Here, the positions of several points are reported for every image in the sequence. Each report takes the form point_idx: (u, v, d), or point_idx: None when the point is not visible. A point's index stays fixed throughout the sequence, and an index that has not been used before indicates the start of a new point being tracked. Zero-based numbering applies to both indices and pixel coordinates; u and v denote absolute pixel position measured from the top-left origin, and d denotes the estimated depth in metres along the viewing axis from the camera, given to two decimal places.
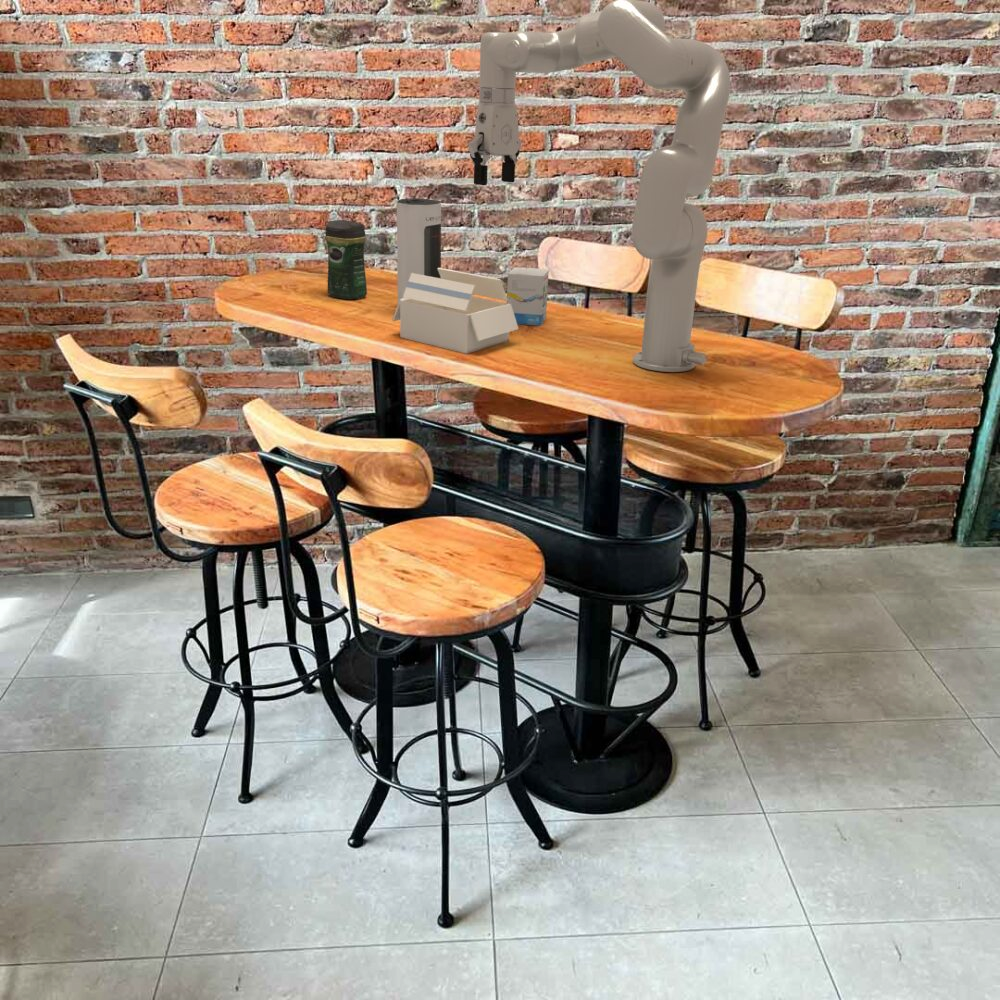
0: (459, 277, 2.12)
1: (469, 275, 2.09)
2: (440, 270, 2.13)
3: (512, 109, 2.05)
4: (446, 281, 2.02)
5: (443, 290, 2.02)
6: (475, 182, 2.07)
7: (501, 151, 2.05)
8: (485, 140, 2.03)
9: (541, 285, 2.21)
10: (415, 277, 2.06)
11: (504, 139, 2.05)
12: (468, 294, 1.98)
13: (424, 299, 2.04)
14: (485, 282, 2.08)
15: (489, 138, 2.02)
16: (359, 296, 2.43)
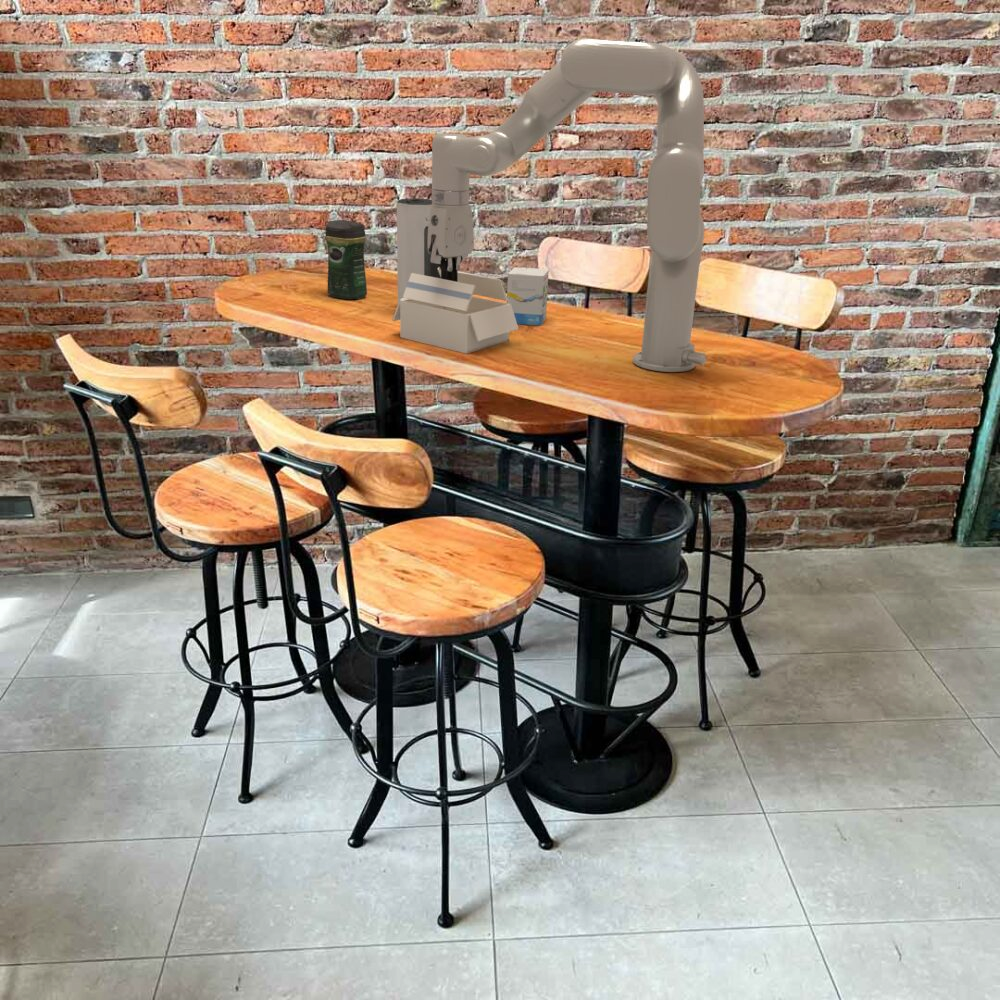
0: (459, 277, 2.12)
1: (469, 275, 2.09)
2: (440, 270, 2.13)
3: (466, 209, 1.99)
4: (446, 281, 2.02)
5: (443, 290, 2.02)
6: None
7: (455, 253, 1.99)
8: (438, 243, 1.97)
9: (541, 285, 2.21)
10: (415, 277, 2.06)
11: (458, 240, 1.99)
12: (468, 294, 1.98)
13: (424, 299, 2.04)
14: (485, 282, 2.08)
15: (441, 241, 1.96)
16: (359, 296, 2.43)
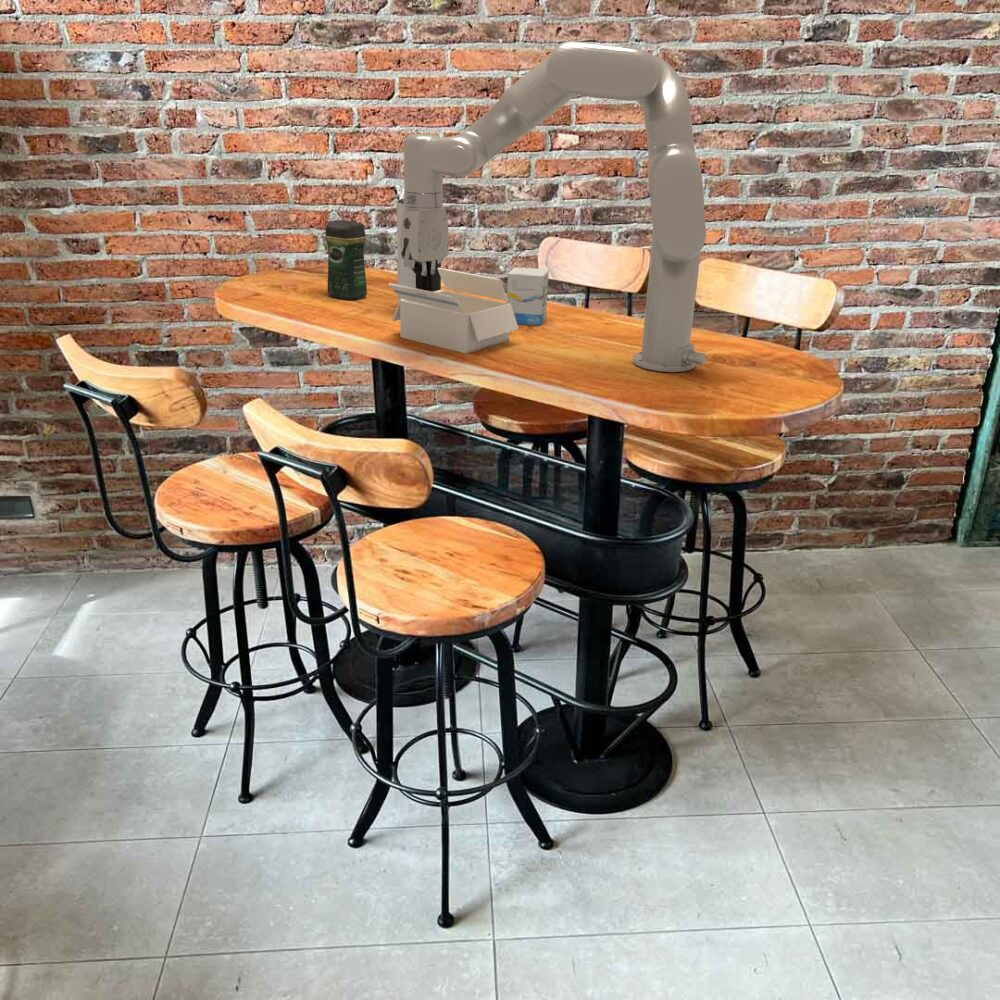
0: (459, 277, 2.12)
1: (469, 275, 2.09)
2: (440, 270, 2.13)
3: (440, 212, 1.93)
4: (425, 292, 1.98)
5: (430, 298, 1.99)
6: None
7: (428, 257, 1.94)
8: (411, 247, 1.91)
9: (541, 285, 2.21)
10: (395, 287, 2.02)
11: (432, 244, 1.94)
12: (454, 303, 1.95)
13: (421, 302, 2.03)
14: (485, 282, 2.08)
15: (414, 245, 1.91)
16: (359, 296, 2.43)
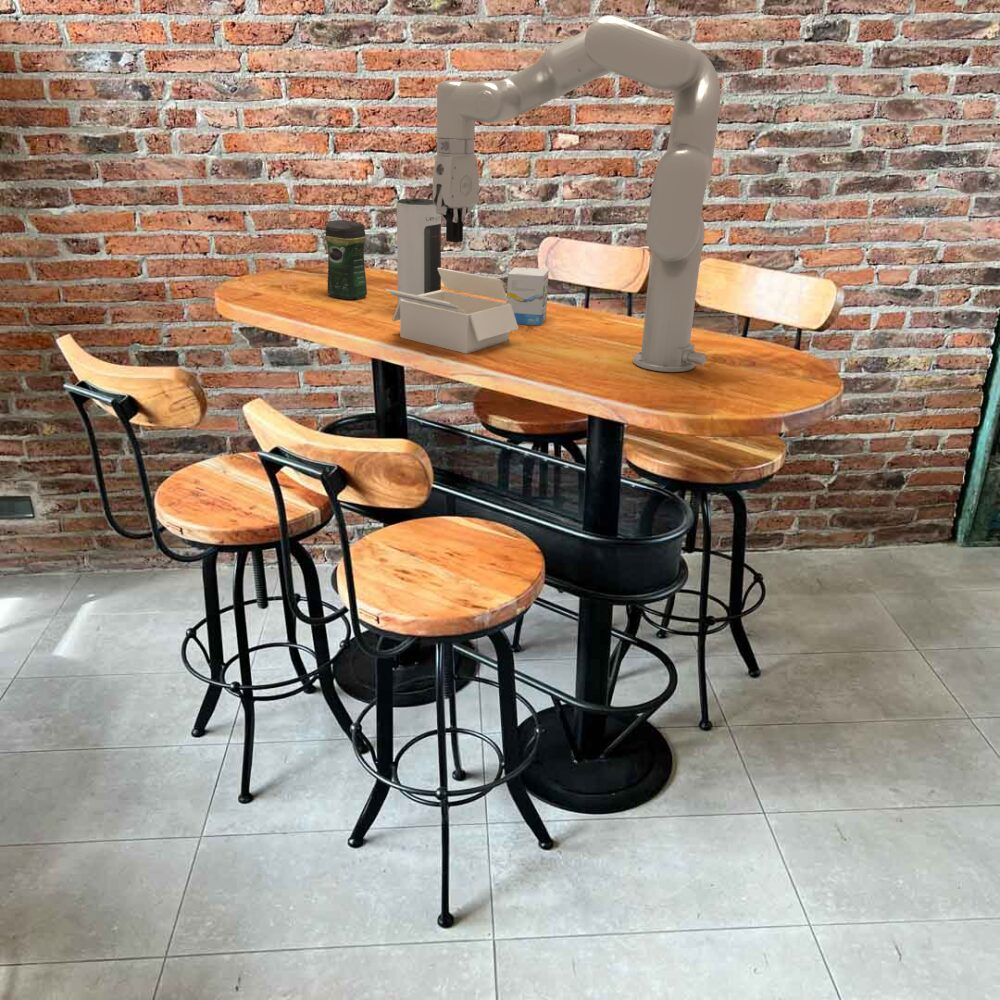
0: (459, 277, 2.12)
1: (469, 275, 2.09)
2: (440, 270, 2.13)
3: (472, 159, 1.96)
4: (422, 298, 1.97)
5: (428, 301, 1.99)
6: (447, 239, 2.02)
7: (460, 203, 1.96)
8: (443, 193, 1.94)
9: (541, 285, 2.21)
10: (393, 292, 2.02)
11: (463, 191, 1.96)
12: (452, 307, 1.95)
13: (421, 302, 2.04)
14: (485, 282, 2.08)
15: (447, 190, 1.93)
16: (359, 296, 2.43)
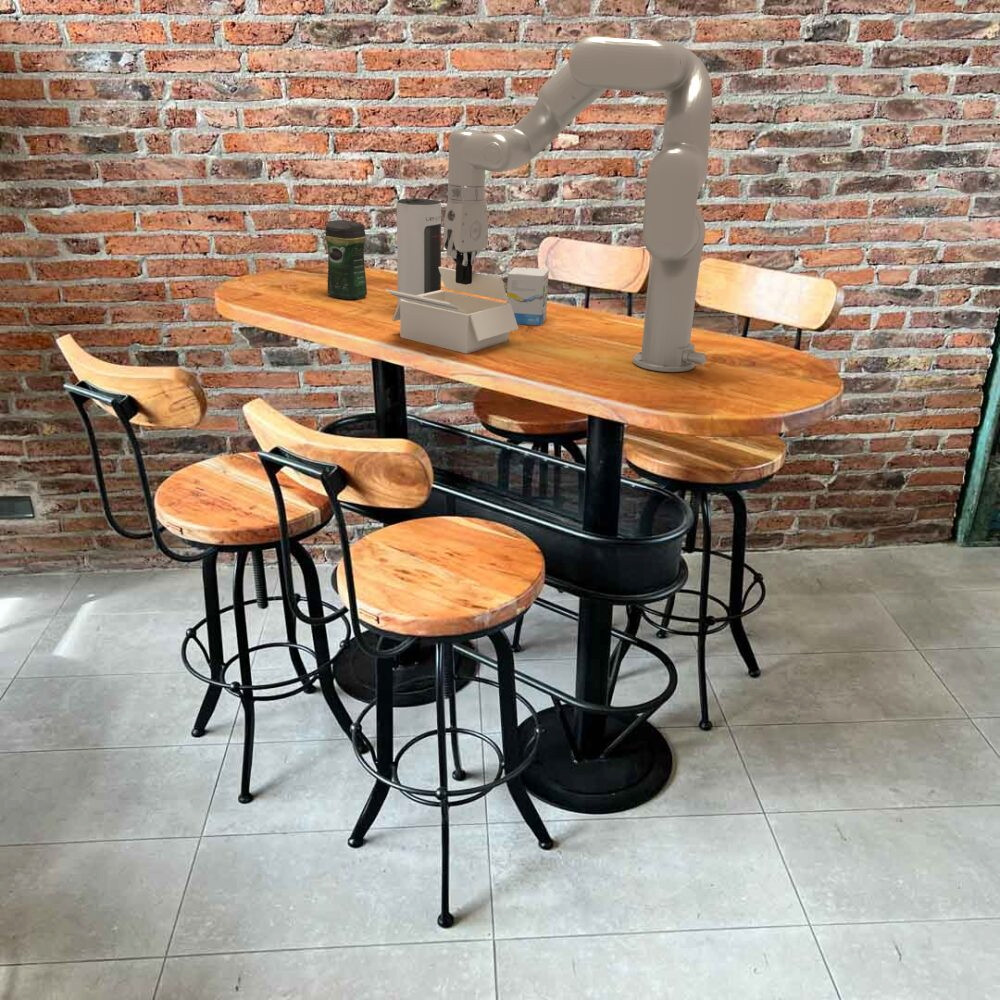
0: None
1: None
2: (441, 269, 2.14)
3: (482, 205, 2.02)
4: (422, 299, 1.97)
5: (428, 301, 1.99)
6: (457, 281, 2.08)
7: (470, 248, 2.03)
8: (454, 238, 2.00)
9: (541, 285, 2.21)
10: (393, 293, 2.02)
11: (473, 235, 2.02)
12: (452, 307, 1.95)
13: (421, 302, 2.04)
14: (486, 281, 2.08)
15: (458, 236, 1.99)
16: (359, 296, 2.43)
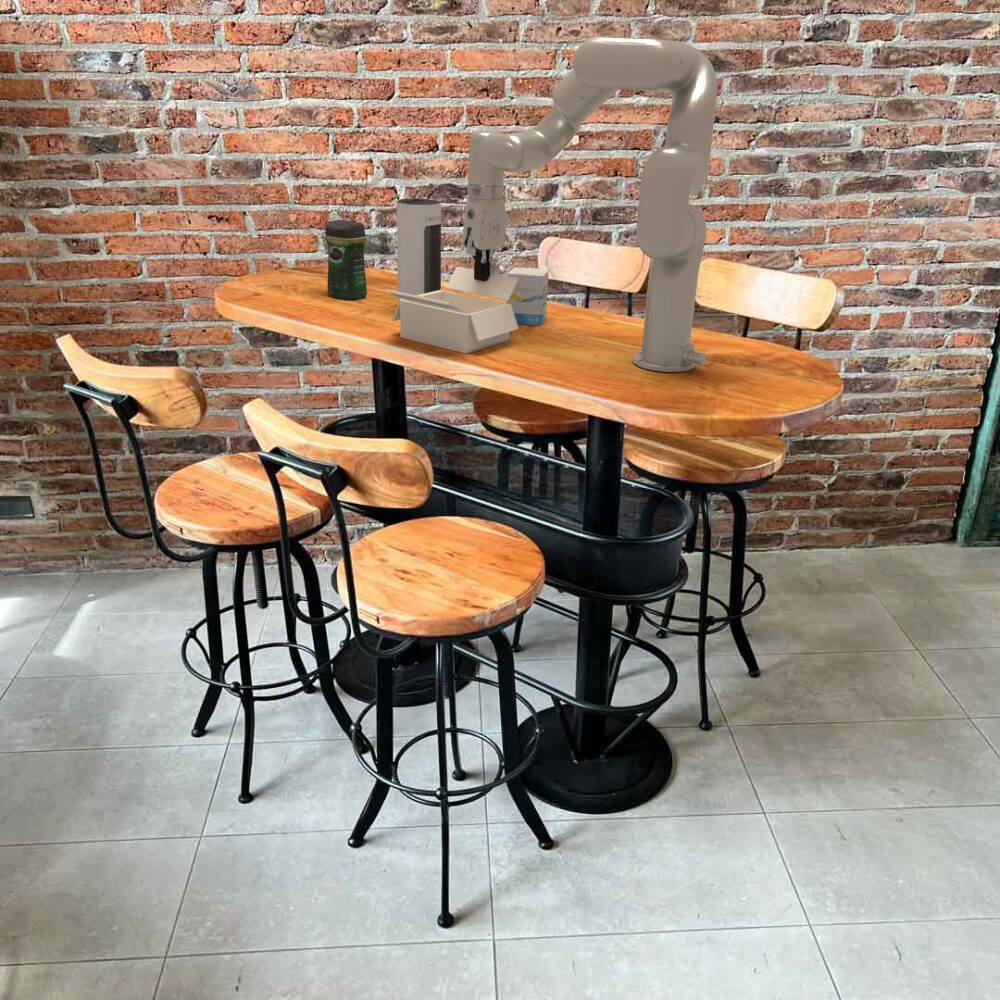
0: (473, 275, 2.15)
1: None
2: (458, 268, 2.18)
3: (500, 204, 2.07)
4: (422, 299, 1.97)
5: (428, 301, 1.99)
6: (475, 278, 2.14)
7: (489, 245, 2.08)
8: (474, 236, 2.05)
9: (541, 285, 2.21)
10: (393, 293, 2.02)
11: (492, 233, 2.08)
12: (452, 307, 1.95)
13: (421, 302, 2.04)
14: (499, 280, 2.11)
15: (477, 234, 2.05)
16: (359, 296, 2.43)
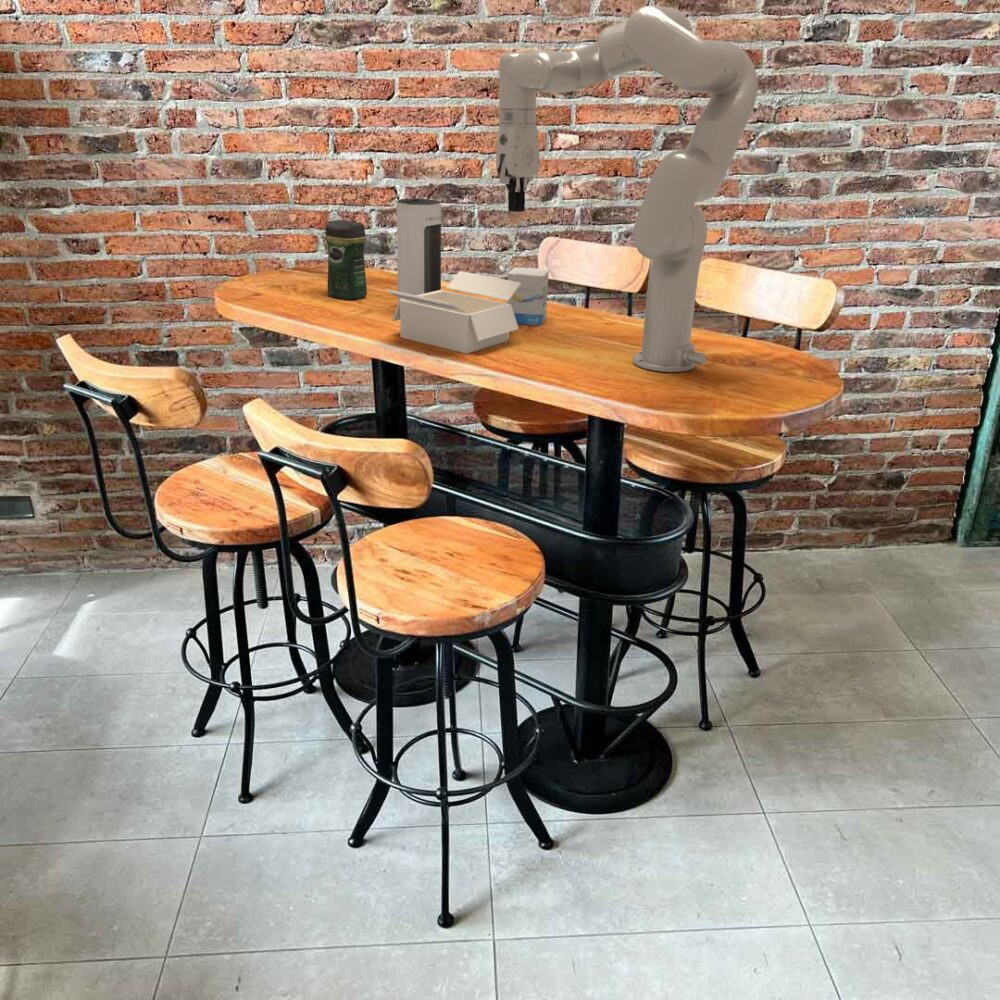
0: (475, 279, 2.16)
1: (490, 277, 2.15)
2: (461, 272, 2.19)
3: (533, 129, 2.02)
4: (422, 299, 1.97)
5: (428, 301, 1.99)
6: (510, 209, 2.08)
7: (523, 173, 2.02)
8: (507, 162, 1.99)
9: (541, 285, 2.21)
10: (393, 293, 2.02)
11: (526, 160, 2.02)
12: (452, 307, 1.95)
13: (421, 302, 2.04)
14: (502, 283, 2.12)
15: (511, 160, 1.99)
16: (359, 296, 2.43)
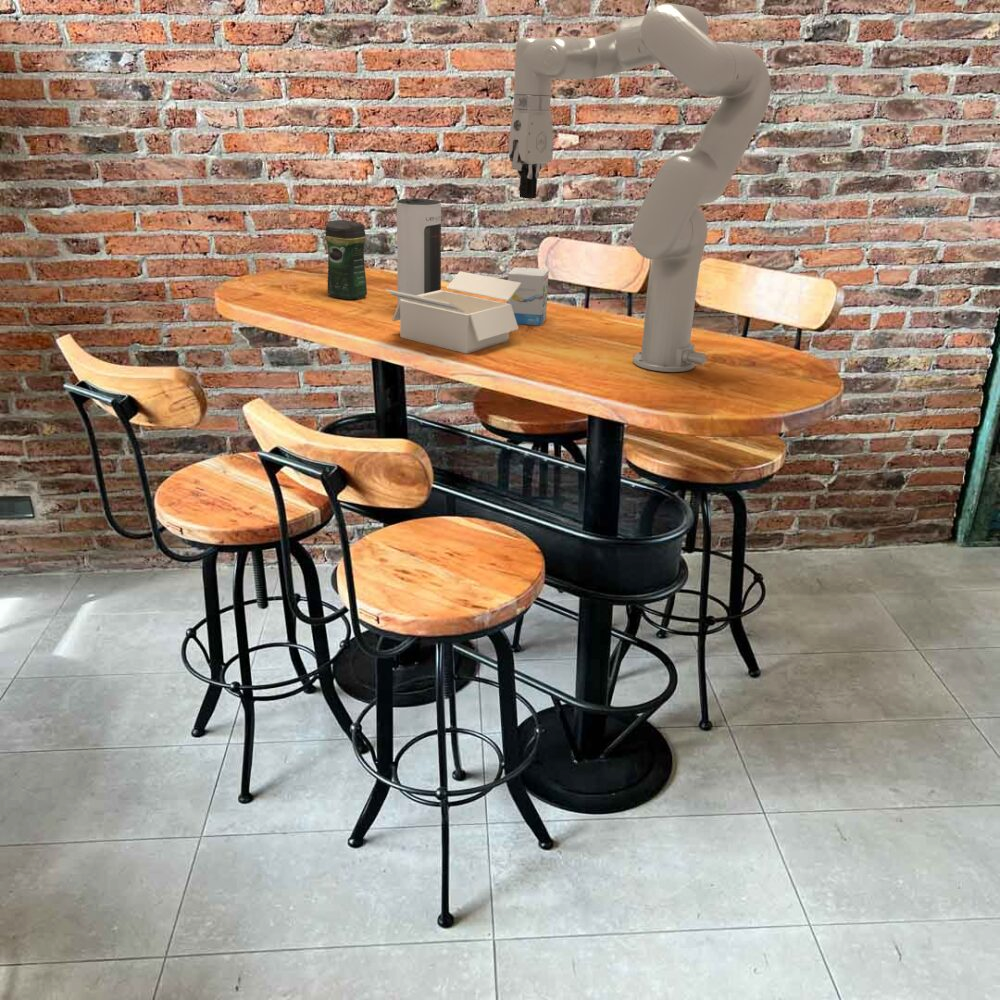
0: (475, 279, 2.16)
1: (490, 277, 2.15)
2: (461, 272, 2.19)
3: (547, 116, 2.00)
4: (422, 299, 1.97)
5: (428, 301, 1.99)
6: (521, 195, 2.07)
7: (536, 159, 2.01)
8: (520, 148, 1.98)
9: (541, 285, 2.21)
10: (393, 293, 2.02)
11: (539, 147, 2.01)
12: (452, 307, 1.95)
13: (421, 302, 2.04)
14: (502, 283, 2.12)
15: (524, 146, 1.98)
16: (359, 296, 2.43)
